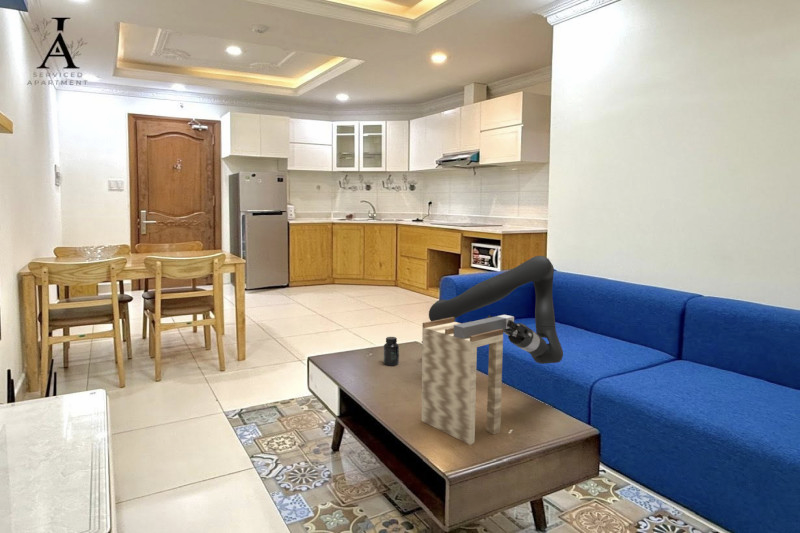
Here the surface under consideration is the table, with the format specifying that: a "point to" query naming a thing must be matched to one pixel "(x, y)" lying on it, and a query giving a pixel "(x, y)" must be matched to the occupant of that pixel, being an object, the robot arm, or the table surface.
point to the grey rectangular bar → (481, 326)
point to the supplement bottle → (391, 352)
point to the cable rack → (458, 379)
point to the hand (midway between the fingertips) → (498, 320)
